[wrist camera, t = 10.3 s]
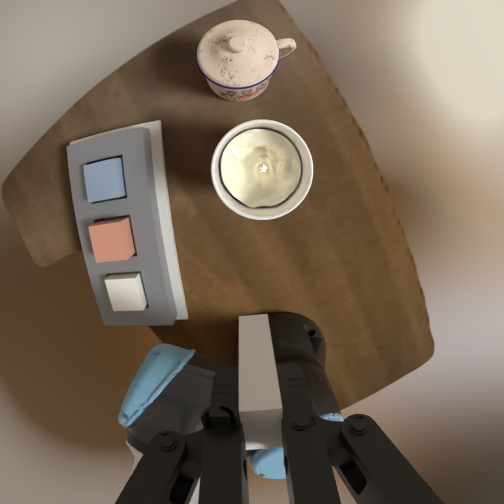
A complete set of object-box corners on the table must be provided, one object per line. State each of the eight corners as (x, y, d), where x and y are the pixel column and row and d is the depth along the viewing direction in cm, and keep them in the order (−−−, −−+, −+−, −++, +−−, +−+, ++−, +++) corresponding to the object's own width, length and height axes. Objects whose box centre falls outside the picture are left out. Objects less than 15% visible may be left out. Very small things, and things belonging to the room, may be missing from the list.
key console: (188, 316, 45) (184, 330, 41) (107, 318, 44) (98, 331, 41) (161, 120, 35) (152, 117, 31) (72, 142, 35) (58, 142, 31)
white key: (149, 300, 41) (143, 310, 38) (120, 301, 41) (113, 311, 38) (142, 269, 39) (135, 278, 36) (112, 272, 39) (104, 279, 36)
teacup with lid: (220, 113, 35) (211, 95, 24) (195, 60, 32) (179, 26, 21) (301, 84, 34) (324, 58, 23) (275, 32, 31) (287, -7, 20)
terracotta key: (135, 252, 37) (127, 259, 34) (105, 255, 37) (96, 262, 34) (129, 216, 36) (120, 221, 33) (98, 221, 36) (88, 226, 33)
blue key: (128, 193, 36) (120, 197, 33) (98, 199, 36) (88, 202, 33) (124, 157, 34) (115, 158, 31) (93, 164, 34) (83, 165, 31)
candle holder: (293, 200, 39) (314, 217, 28) (222, 204, 39) (215, 223, 28) (290, 130, 36) (310, 118, 25) (217, 133, 36) (207, 123, 25)
